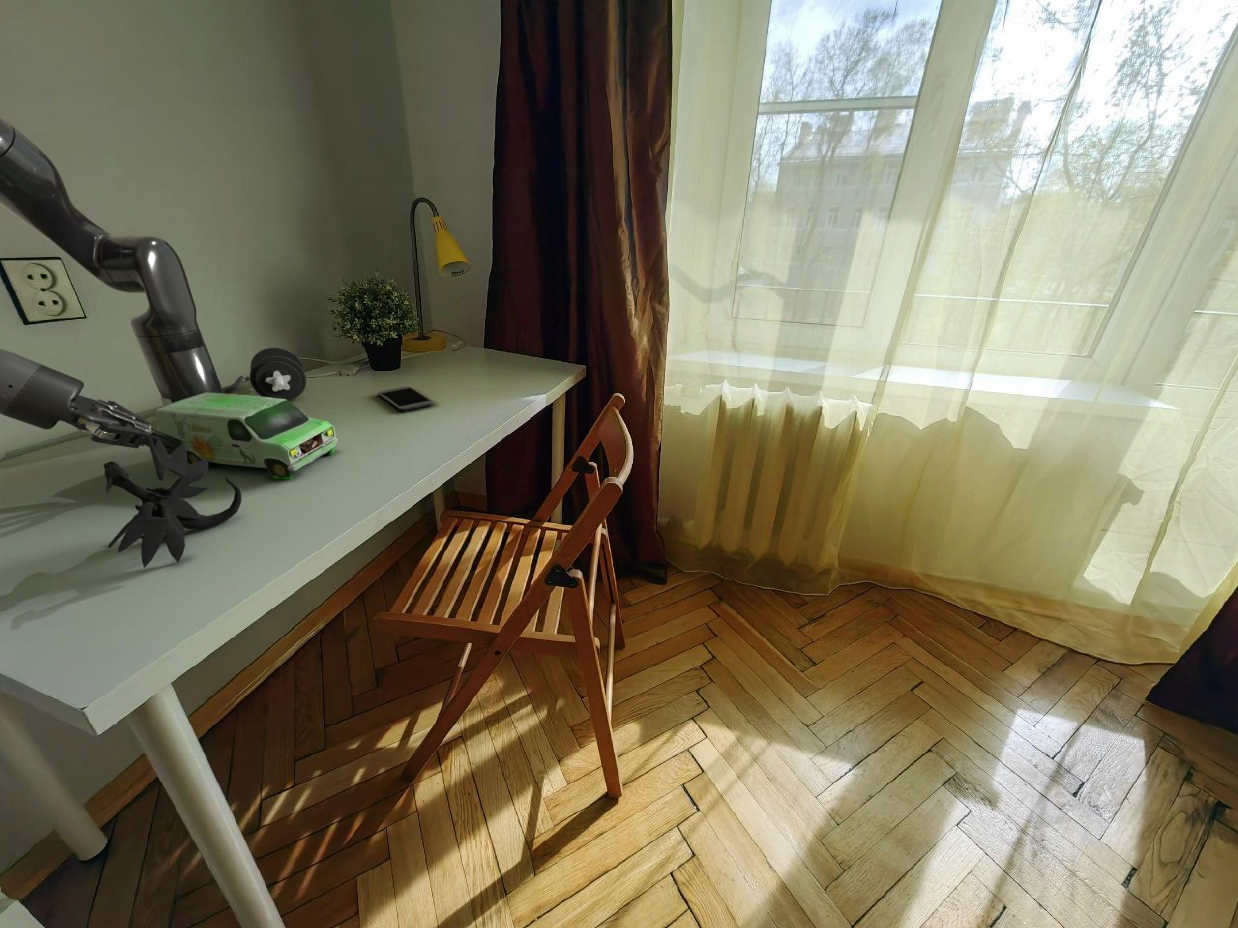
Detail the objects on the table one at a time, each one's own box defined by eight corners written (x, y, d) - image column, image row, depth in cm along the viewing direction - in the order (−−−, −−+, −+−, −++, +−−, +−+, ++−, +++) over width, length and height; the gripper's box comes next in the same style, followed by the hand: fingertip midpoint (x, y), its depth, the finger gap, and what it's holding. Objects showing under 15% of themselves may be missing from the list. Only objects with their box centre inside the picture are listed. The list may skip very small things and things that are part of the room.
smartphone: (409, 388, 115) (408, 384, 115) (436, 405, 105) (435, 401, 105) (376, 395, 111) (376, 391, 110) (401, 413, 101) (400, 409, 100)
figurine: (212, 589, 63) (215, 564, 55) (73, 577, 56) (54, 547, 48) (250, 478, 70) (257, 444, 63) (132, 456, 63) (124, 414, 56)
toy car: (297, 482, 75) (277, 421, 70) (166, 466, 79) (139, 408, 75) (345, 452, 84) (330, 397, 80) (225, 440, 89) (204, 387, 84)
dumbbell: (314, 406, 105) (300, 360, 100) (258, 414, 100) (241, 367, 95) (307, 380, 121) (295, 339, 116) (258, 386, 116) (244, 344, 111)
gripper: (27, 375, 58) (197, 442, 71) (45, 353, 67) (193, 416, 80) (-15, 427, 57) (165, 485, 70) (9, 398, 66) (164, 454, 79)
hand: (179, 448), depth 75 cm, fingers closed
